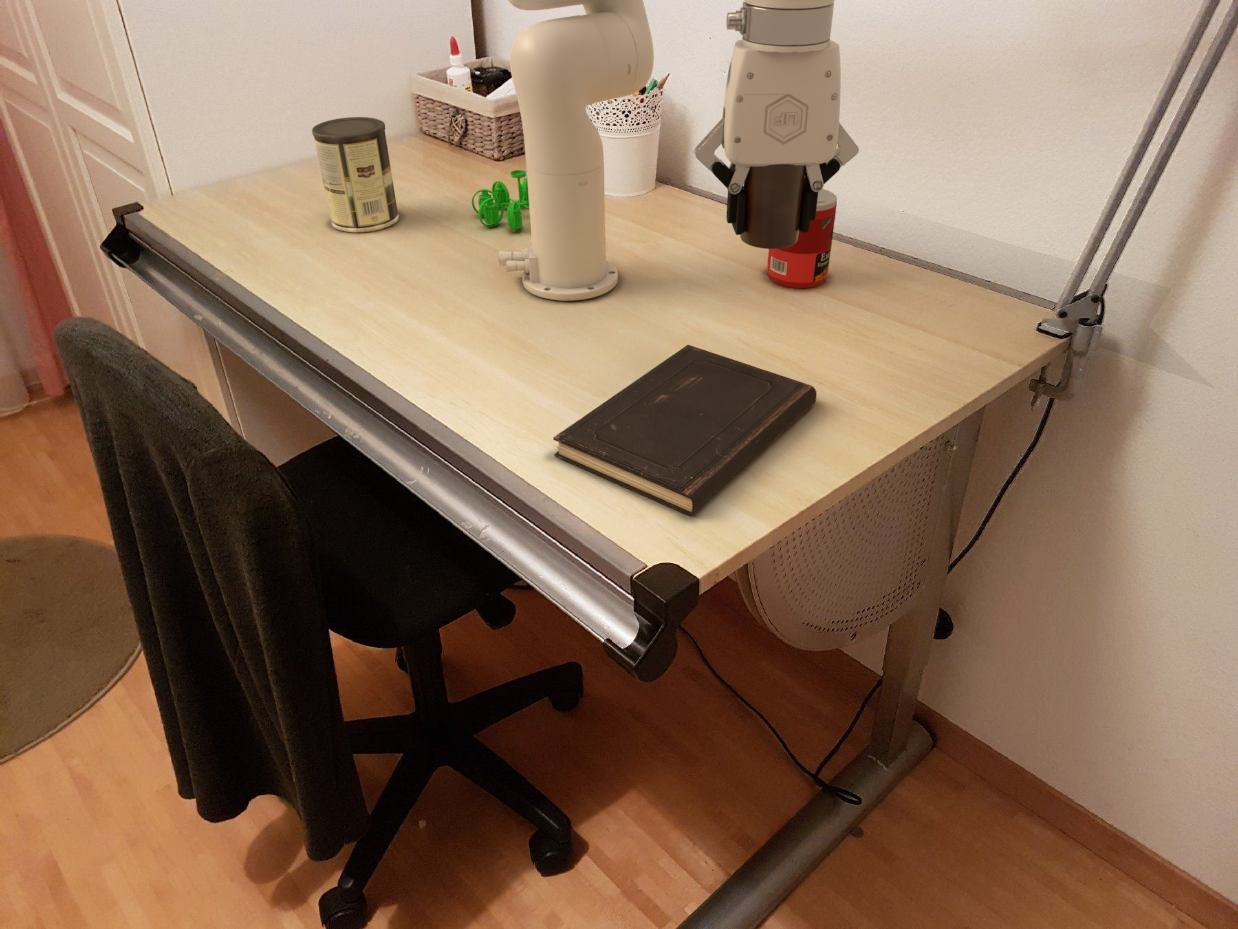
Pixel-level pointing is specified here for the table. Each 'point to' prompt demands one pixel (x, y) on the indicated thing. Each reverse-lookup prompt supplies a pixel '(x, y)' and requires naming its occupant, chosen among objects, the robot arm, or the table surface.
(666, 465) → the hardcover book
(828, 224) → the canned food
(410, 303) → the table surface
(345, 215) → the coffee can
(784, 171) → the walnut cylinder
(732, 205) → the robot arm
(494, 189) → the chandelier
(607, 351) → the table surface
